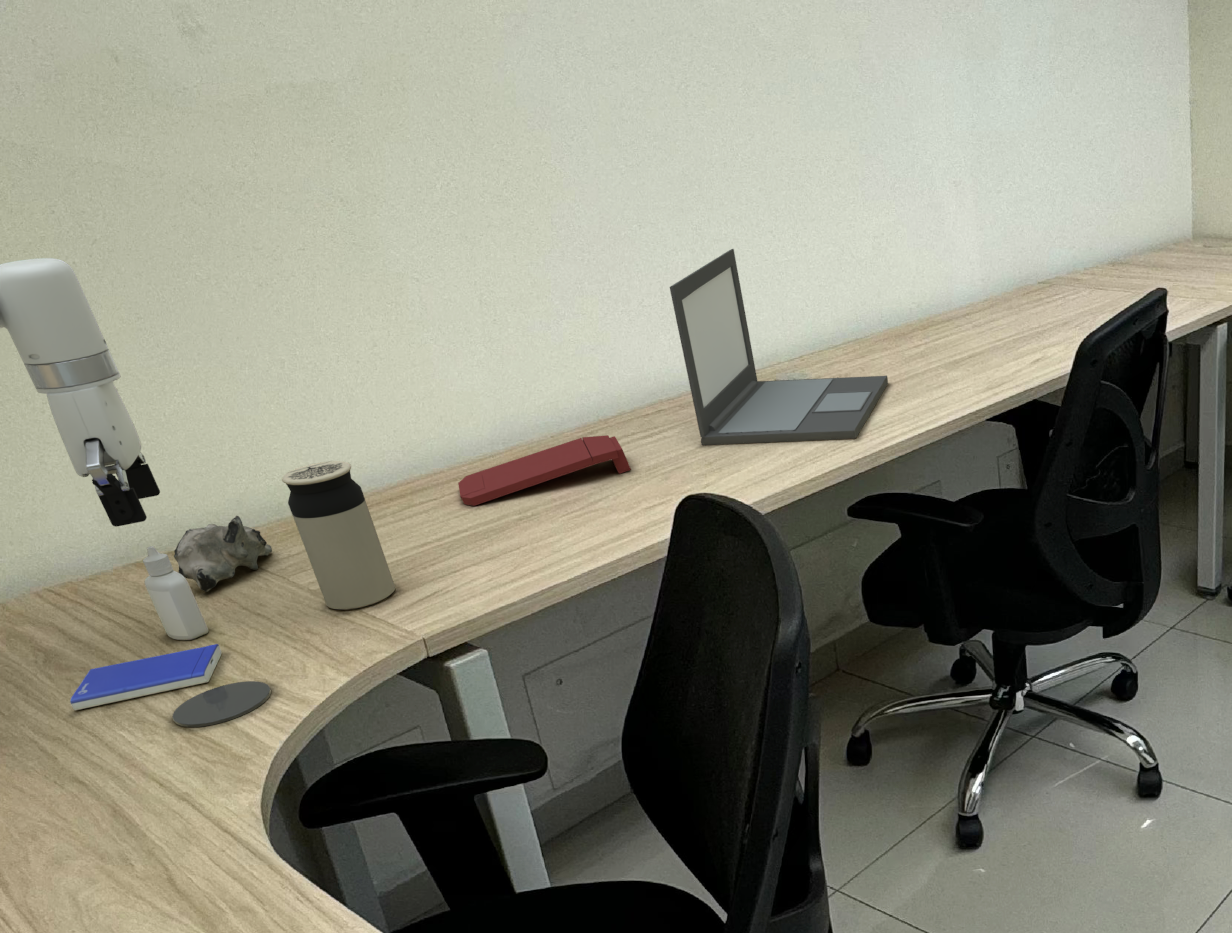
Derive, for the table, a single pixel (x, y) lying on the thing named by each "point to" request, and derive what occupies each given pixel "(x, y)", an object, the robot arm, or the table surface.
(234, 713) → the slate coaster
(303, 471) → the travel mug
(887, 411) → the table surface
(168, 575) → the eye dropper bottle
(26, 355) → the robot arm
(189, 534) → the decorative stone
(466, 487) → the red hooked bar
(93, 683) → the hard drive
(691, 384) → the laptop
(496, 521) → the table surface
